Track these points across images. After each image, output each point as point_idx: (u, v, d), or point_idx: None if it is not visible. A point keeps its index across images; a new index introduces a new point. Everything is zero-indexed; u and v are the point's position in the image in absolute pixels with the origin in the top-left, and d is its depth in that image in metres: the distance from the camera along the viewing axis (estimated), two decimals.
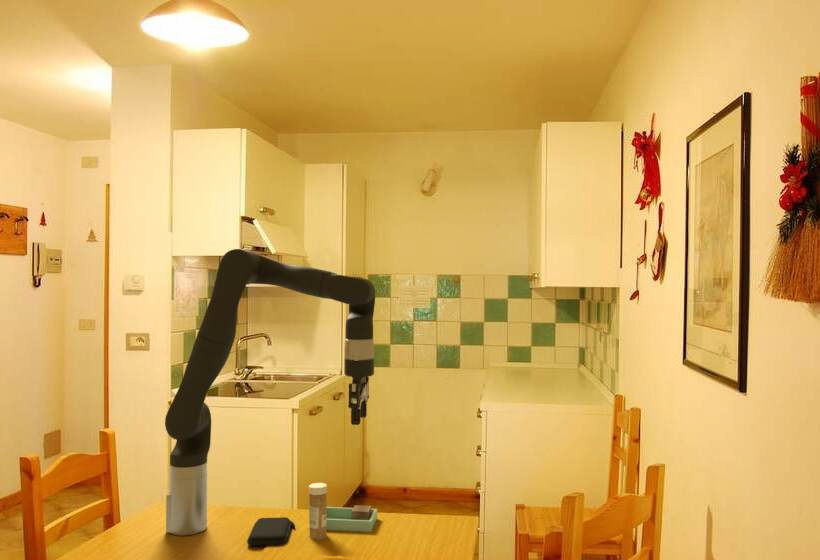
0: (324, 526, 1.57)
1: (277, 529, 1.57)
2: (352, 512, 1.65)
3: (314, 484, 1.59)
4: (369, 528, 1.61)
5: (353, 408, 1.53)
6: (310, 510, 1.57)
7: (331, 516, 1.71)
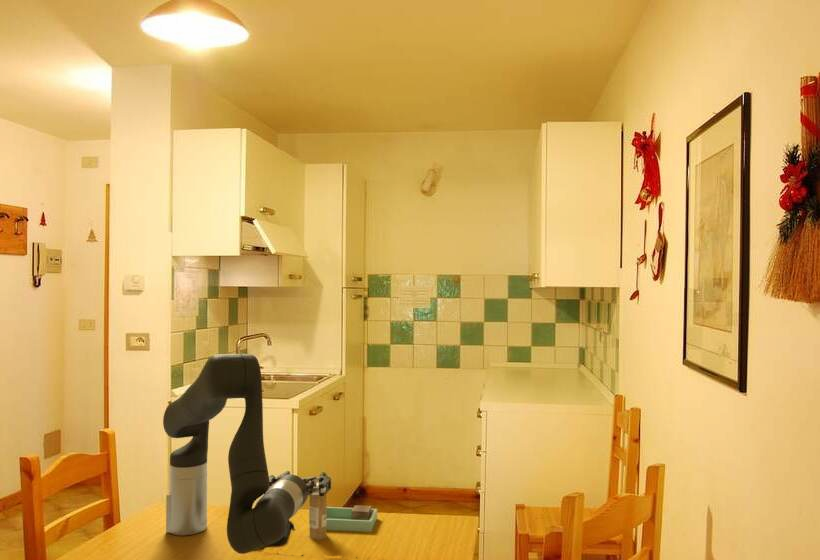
0: (324, 526, 1.57)
1: None
2: (352, 512, 1.65)
3: None
4: (369, 528, 1.61)
5: None
6: (310, 510, 1.57)
7: (331, 516, 1.71)
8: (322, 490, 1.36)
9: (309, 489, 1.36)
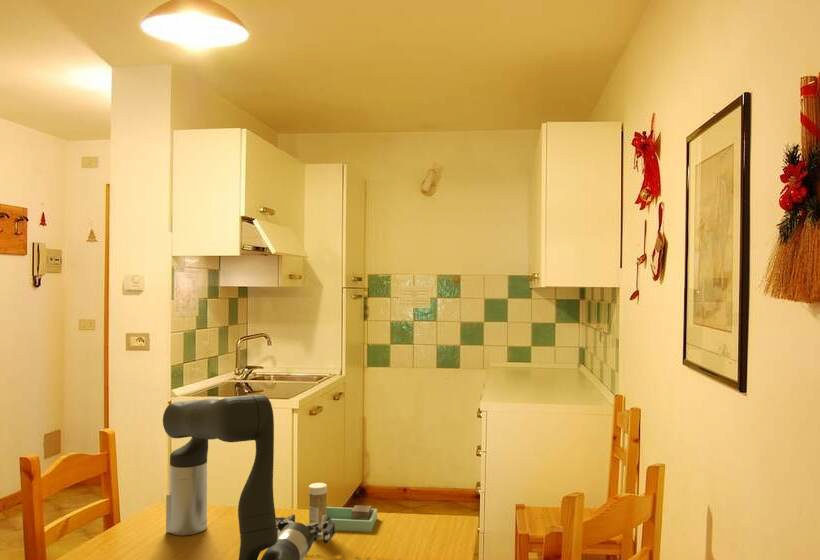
0: None
1: None
2: (352, 512, 1.65)
3: (314, 484, 1.59)
4: (369, 528, 1.61)
5: None
6: (310, 510, 1.57)
7: (331, 516, 1.71)
8: (326, 537, 1.41)
9: (314, 536, 1.41)
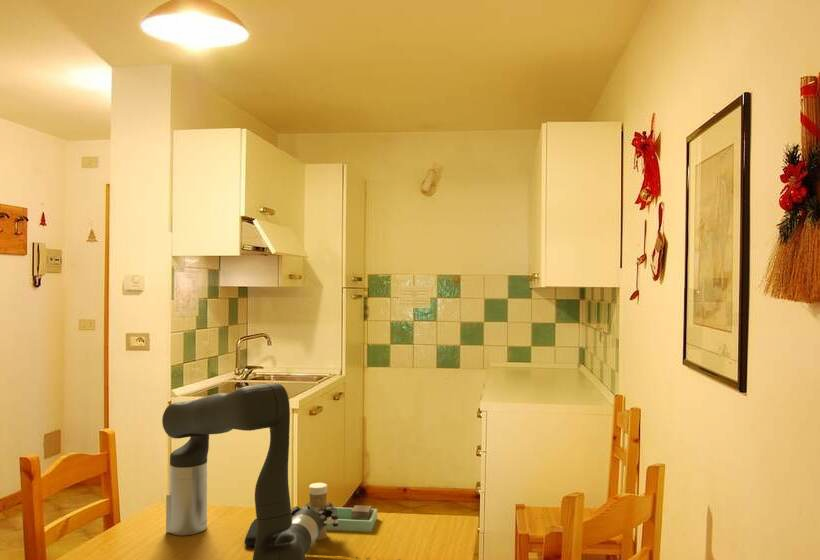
0: None
1: None
2: (352, 512, 1.65)
3: (314, 484, 1.59)
4: (369, 528, 1.61)
5: None
6: None
7: None
8: (337, 521, 1.50)
9: (323, 522, 1.49)
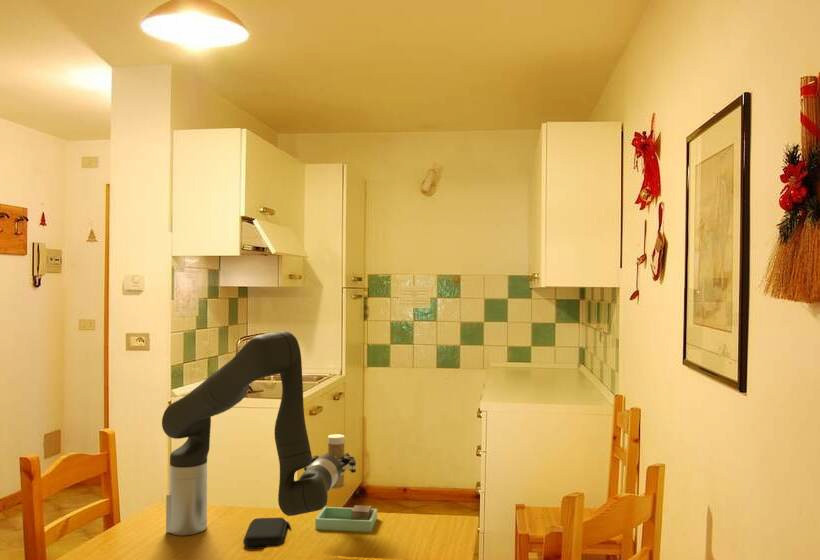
0: (342, 474, 1.66)
1: (273, 529, 1.57)
2: (352, 512, 1.65)
3: (333, 435, 1.68)
4: (369, 528, 1.61)
5: None
6: None
7: (331, 516, 1.71)
8: (354, 467, 1.59)
9: (342, 467, 1.58)
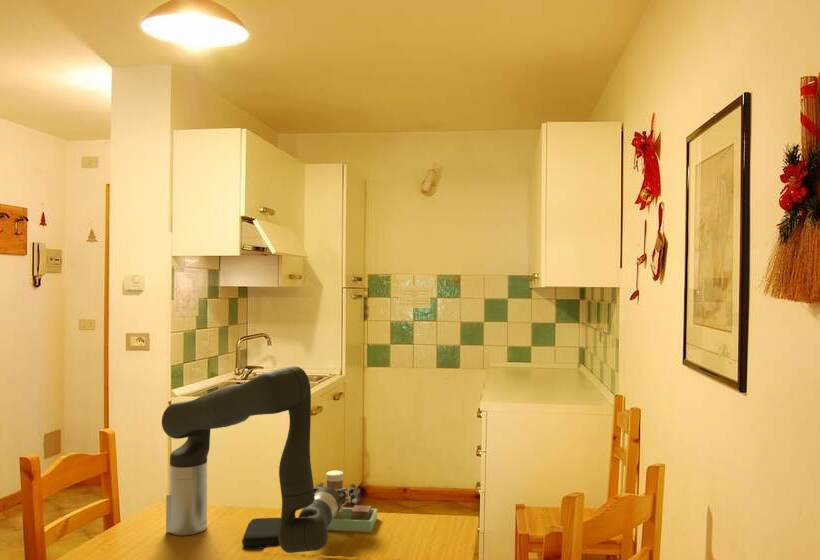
0: (341, 511, 1.66)
1: (272, 530, 1.57)
2: (352, 512, 1.65)
3: (331, 472, 1.68)
4: (369, 528, 1.61)
5: None
6: None
7: None
8: (353, 500, 1.58)
9: (342, 499, 1.58)
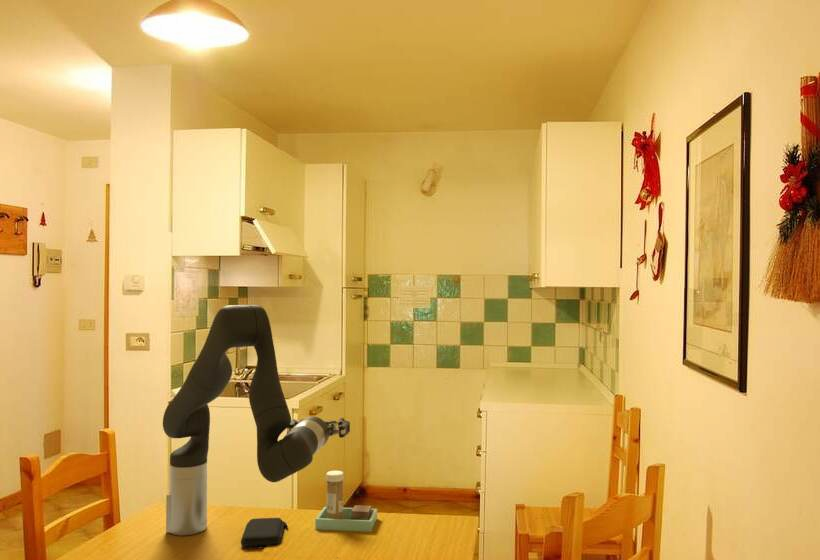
0: (341, 511, 1.66)
1: (270, 530, 1.57)
2: (352, 512, 1.65)
3: (331, 472, 1.67)
4: (369, 528, 1.61)
5: None
6: (328, 496, 1.66)
7: None
8: (342, 432, 1.45)
9: (330, 430, 1.45)
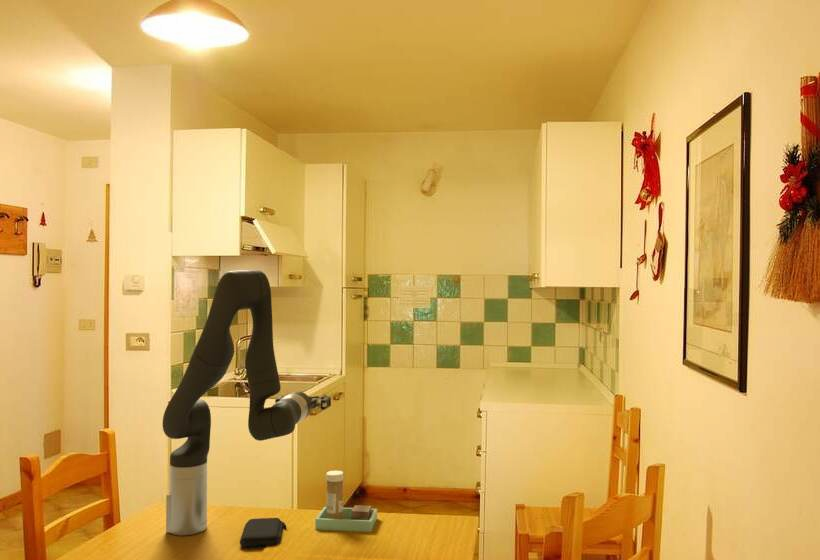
0: (341, 511, 1.66)
1: (269, 530, 1.57)
2: (352, 512, 1.65)
3: (331, 472, 1.67)
4: (369, 528, 1.61)
5: None
6: (327, 496, 1.66)
7: None
8: (323, 405, 1.66)
9: (313, 404, 1.66)
